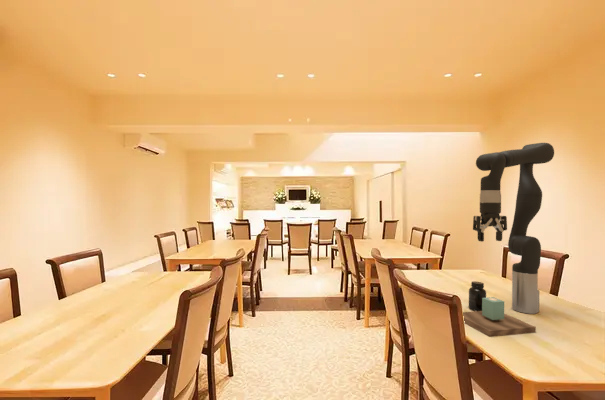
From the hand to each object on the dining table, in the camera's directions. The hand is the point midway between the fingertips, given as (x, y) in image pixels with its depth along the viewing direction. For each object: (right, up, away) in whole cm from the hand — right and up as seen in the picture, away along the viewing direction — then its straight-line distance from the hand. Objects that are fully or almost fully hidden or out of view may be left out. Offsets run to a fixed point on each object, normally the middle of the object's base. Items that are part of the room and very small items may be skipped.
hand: (489, 241), depth 126 cm
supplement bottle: (+1, -32, +12) cm, 34 cm away
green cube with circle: (-2, -29, -6) cm, 30 cm away
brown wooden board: (-2, -32, -6) cm, 33 cm away
